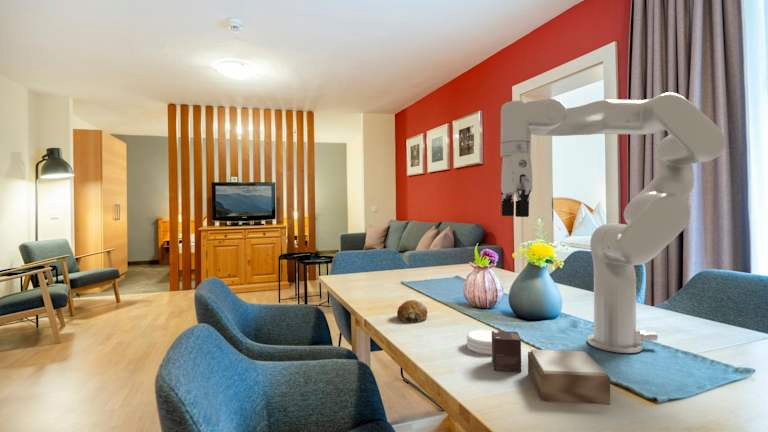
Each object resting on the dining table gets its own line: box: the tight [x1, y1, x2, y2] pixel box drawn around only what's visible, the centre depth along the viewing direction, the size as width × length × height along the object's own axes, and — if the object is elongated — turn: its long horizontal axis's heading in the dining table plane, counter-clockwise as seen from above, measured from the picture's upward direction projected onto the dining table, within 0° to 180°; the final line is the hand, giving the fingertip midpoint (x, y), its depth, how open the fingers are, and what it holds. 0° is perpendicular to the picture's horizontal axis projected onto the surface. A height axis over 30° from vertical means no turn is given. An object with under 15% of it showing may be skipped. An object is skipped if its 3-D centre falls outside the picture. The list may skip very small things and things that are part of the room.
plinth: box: [527, 349, 611, 405], centre depth 81 cm, size 12×12×6 cm
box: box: [491, 330, 522, 373], centre depth 92 cm, size 6×6×7 cm
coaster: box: [466, 329, 493, 356], centre depth 104 cm, size 10×10×4 cm
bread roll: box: [396, 299, 428, 324], centre depth 132 cm, size 10×10×8 cm
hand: (514, 216), depth 105 cm, fingers open, 9 cm apart
